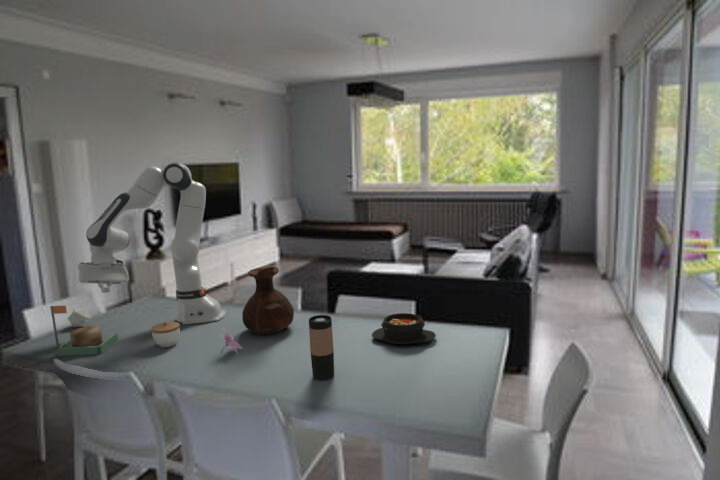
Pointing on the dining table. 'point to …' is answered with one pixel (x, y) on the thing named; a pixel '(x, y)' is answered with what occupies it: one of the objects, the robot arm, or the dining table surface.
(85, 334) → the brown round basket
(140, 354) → the dining table surface
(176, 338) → the lidded jar
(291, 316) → the jug
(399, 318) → the casserole
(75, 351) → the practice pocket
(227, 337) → the lily
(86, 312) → the white faceted block
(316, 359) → the travel mug
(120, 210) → the robot arm
